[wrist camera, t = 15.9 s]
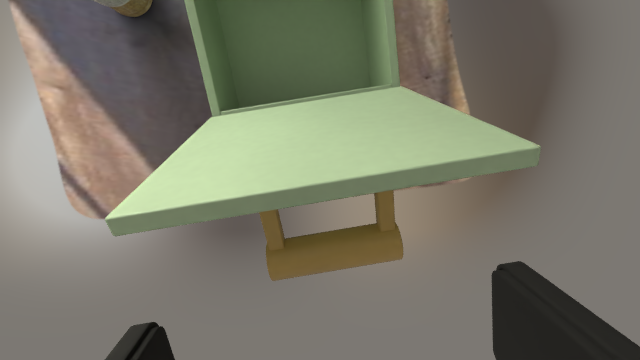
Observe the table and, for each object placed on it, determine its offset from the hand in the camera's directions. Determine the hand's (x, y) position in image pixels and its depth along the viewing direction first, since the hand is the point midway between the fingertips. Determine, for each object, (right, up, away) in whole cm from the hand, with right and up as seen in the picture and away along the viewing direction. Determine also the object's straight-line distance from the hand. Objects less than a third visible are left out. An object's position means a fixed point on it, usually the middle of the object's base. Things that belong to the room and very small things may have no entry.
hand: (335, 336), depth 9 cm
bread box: (-3, +19, +23) cm, 30 cm away
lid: (-1, +7, +9) cm, 12 cm away
